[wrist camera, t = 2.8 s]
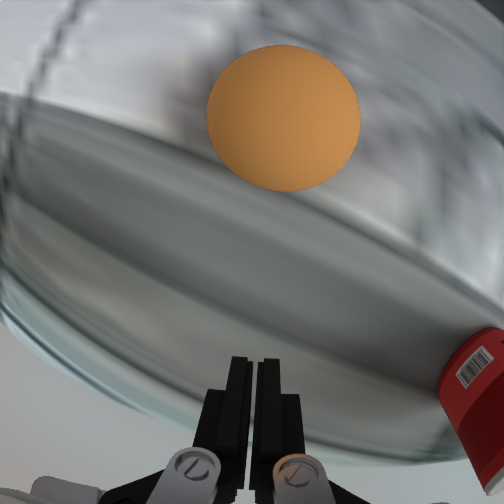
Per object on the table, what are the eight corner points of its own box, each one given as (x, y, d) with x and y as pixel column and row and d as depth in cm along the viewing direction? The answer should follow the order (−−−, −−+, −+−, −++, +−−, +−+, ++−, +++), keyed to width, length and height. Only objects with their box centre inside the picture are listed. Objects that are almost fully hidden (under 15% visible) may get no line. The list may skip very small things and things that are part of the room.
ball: (341, 79, 12) (378, 31, 6) (338, 191, 14) (379, 206, 8) (224, 72, 13) (194, 20, 7) (219, 184, 14) (183, 194, 8)
